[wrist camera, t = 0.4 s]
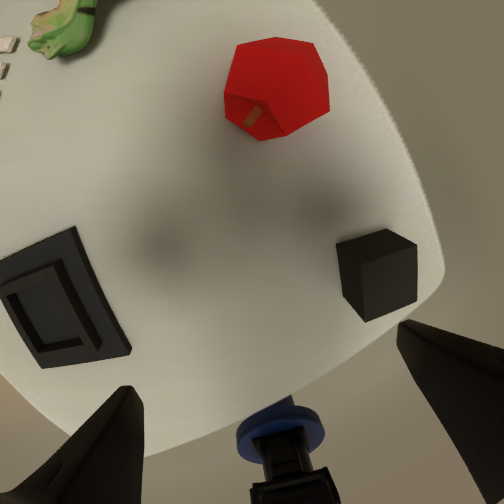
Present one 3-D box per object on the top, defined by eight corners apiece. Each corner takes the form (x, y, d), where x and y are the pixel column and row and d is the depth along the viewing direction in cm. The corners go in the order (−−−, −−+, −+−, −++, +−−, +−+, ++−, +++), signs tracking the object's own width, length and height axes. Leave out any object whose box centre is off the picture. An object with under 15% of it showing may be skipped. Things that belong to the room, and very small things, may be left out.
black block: (390, 279, 25) (417, 301, 21) (342, 296, 25) (364, 323, 20) (387, 228, 23) (417, 244, 19) (335, 244, 23) (360, 264, 19)
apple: (295, -5, 12) (217, 62, 11) (368, 72, 15) (320, 157, 14) (242, 41, 18) (176, 109, 17) (303, 97, 21) (254, 170, 20)
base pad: (132, 348, 24) (126, 365, 22) (45, 363, 24) (36, 377, 21) (75, 225, 20) (61, 234, 18) (-8, 264, 20) (-23, 274, 17)
